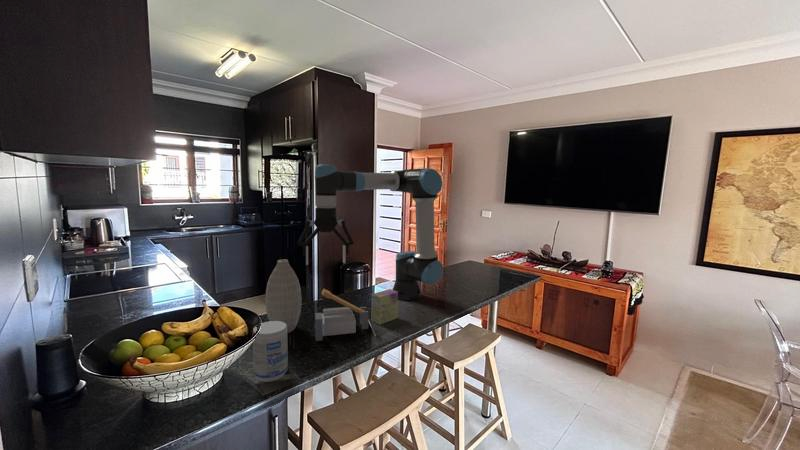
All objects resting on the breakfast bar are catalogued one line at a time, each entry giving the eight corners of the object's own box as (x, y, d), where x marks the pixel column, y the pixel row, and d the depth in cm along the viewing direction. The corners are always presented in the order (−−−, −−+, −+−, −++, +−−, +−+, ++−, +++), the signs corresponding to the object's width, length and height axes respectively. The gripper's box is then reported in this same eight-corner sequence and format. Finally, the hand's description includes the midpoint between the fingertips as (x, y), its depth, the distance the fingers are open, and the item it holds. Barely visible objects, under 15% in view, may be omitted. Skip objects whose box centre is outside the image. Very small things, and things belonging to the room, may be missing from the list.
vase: (291, 341, 117) (289, 265, 114) (259, 338, 119) (256, 263, 116) (307, 327, 130) (306, 257, 126) (278, 323, 132) (276, 255, 128)
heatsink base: (367, 319, 138) (367, 301, 137) (376, 338, 121) (376, 317, 120) (308, 324, 132) (308, 305, 131) (309, 345, 115) (308, 324, 114)
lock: (321, 333, 122) (321, 312, 121) (322, 340, 116) (322, 318, 115) (315, 333, 121) (315, 313, 120) (315, 341, 116) (315, 319, 115)
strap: (363, 313, 130) (366, 310, 130) (365, 317, 126) (367, 314, 127) (321, 291, 125) (323, 288, 125) (322, 295, 121) (324, 291, 121)
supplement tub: (271, 387, 91) (270, 337, 89) (246, 379, 95) (244, 330, 93) (294, 369, 100) (294, 323, 98) (270, 362, 103) (269, 318, 102)
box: (389, 314, 144) (389, 288, 143) (398, 318, 140) (398, 291, 139) (370, 320, 137) (371, 293, 135) (379, 325, 133) (380, 297, 131)
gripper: (358, 206, 127) (357, 260, 129) (290, 206, 120) (291, 262, 123) (361, 207, 120) (360, 264, 122) (289, 207, 113) (290, 267, 116)
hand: (326, 263), depth 123 cm, fingers open, 13 cm apart
